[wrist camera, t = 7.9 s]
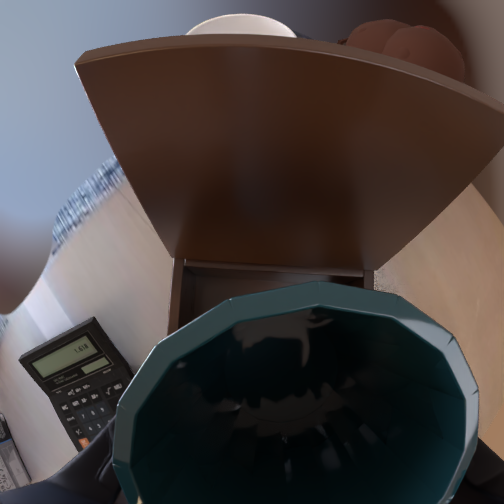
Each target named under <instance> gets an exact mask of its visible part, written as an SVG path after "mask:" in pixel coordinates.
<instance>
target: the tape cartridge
mask: <svg viewBox="0 0 504 504" xmlns="http://www.w3.org/2000/svg"><path fill="white" fill-rule="evenodd" d="M29 482H31V479H30V477H29V475H28V473H27V471H26V469H25V467H24V465H23V463H22V461H21V459H20V457H19V455H18V452H17V450H16V448H15V445H14V443H13V441H12V438H11V436H10V433H9V431H8V428H7V425H6V422H5V420H4V417H3V414H0V492H3V491H7V490H11V489H15V488H19V487H23V486H25V485H27V484H28V483H29Z"/></svg>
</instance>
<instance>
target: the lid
mask: <svg viewBox="0 0 504 504" xmlns="http://www.w3.org/2000/svg"><path fill="white" fill-rule="evenodd" d="M74 67H75V70H76V72H77V74H78V77H79V79H80V81H81V84H82V86H83V88H84V91H85V93H86V95H87V98H88V100H89V102H90V104H91V107H92V109H93V111H94V113H95V115H96V117H97V120H98V122H99V124H100V126H101V128H102V130H103V132H104V134H105V136H106V138H107V140H108V142H109V144H110V146H111V148H112V150H113V152H114V154H115V156H116V158H117V160H118V162H119V164H120V166H121V168H122V170H123V172H124V174H125V176H126V178H127V180H128V182H129V183H130V185H131V187H132V189H133V191H134V193H135V195H136V196H137V198H138V200H139V202H140V204H141V206H142V207H143V209H144V211H145V213H146V214H147V216H148V218H149V220H150V222H151V223H152V225H153V227H154V229H155V230H156V232H157V234H158V235H159V237H160V239H161V241H162V242H163V244H164V246H165V247H166V249H167V251H168V252H169V254H170V256H171V257H172V258H184V259H198V260H212V261H227V262H242V263H258V264H274V265H290V266H307V267H324V268H342V269H360V270H378V269H379V268H380V267H381V266H383V265H384V264H385V263H386V262H387V261H389V260H390V259H391V258H392V257H393V256H394V255H395V254H397V253H398V252H399V251H400V250H401V249H402V248H403V247H405V246H406V245H407V244H408V243H409V242H410V241H411V240H412V239H414V238H415V237H416V236H417V235H418V234H419V233H420V232H421V231H422V230H423V229H424V228H425V227H427V226H428V225H429V224H430V223H431V222H432V221H433V220H434V219H435V218H436V217H437V216H438V215H439V214H440V213H441V212H442V211H443V210H444V209H445V208H446V207H447V206H448V205H449V204H450V203H451V202H452V201H453V200H454V199H455V198H456V197H457V196H458V195H459V194H460V193H461V192H462V191H463V190H464V189H465V188H466V187H467V186H468V185H469V184H470V183H471V182H472V181H473V180H474V179H475V178H476V177H477V176H478V174H479V173H480V172H481V171H482V170H483V169H484V168H485V167H486V166H487V165H488V163H489V162H490V161H491V160H492V159H493V158H494V157H495V156H496V154H497V153H498V152H499V151H500V150H501V149H502V147H503V146H504V104H503V103H501V102H499V101H497V100H495V99H493V98H492V97H490V96H488V95H486V94H484V93H482V92H480V91H478V90H476V89H474V88H472V87H470V86H468V85H465V84H463V83H461V82H459V81H456V80H454V79H452V78H449V77H447V76H445V75H442V74H440V73H437V72H435V71H432V70H429V69H427V68H424V67H421V66H418V65H415V64H412V63H409V62H406V61H403V60H400V59H397V58H393V57H390V56H386V55H383V54H379V53H375V52H372V51H368V50H363V49H359V48H355V47H350V46H345V45H340V44H335V43H330V42H324V41H317V40H311V39H303V38H295V37H286V36H275V35H260V34H195V35H181V36H169V37H160V38H152V39H145V40H138V41H132V42H126V43H121V44H116V45H111V46H106V47H102V48H97V49H93V50H89V51H86V52H84V53H83V54H82V55H81V56H80V58H79V59H78V60H77V61H76V62H75V63H74Z"/></svg>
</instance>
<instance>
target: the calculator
mask: <svg viewBox="0 0 504 504" xmlns="http://www.w3.org/2000/svg"><path fill="white" fill-rule="evenodd" d="M19 362H20V363H21V364H22V366H23V367H24V368H25V370H26V371H27V372H28V373H29V375H30V376H31V377H32V378H33V379H34V381H35V382H36V383H37V384H38V385H39V387H40V388H41V389H42V390H43V391H44V392H45V393H46V395H47V396H48V397H49V399H50V401H51V403H52V405H53V407H54V409H55V411H56V413H57V415H58V417H59V419H60V421H61V423H62V425H63V426H64V428H65V430H66V432H67V434H68V435H69V437H70V439H71V441H72V442H73V444H74V446H75V447H76V449H77V451H78V452H79V453H80V452H81V451H82V450H83V449H84V448H85V447H86V446H87V445H88V444H90V442H91V441H92V440H93V439H94V438H95V437H96V436H97V435H98V434H99V433H100V432H101V430H102V429H103V428H104V427H105V426H107V424H108V422H109V421H110V420H111V419H112V418H113V417H114V416H115V414H116V410H117V405H118V401H119V400H120V398H121V396H122V395H123V393H124V392H125V390H126V389H127V387H128V386H129V384H130V383H131V381H132V379H133V378H134V375H133V373H132V371H131V369H130V367H129V365H128V363H127V362H126V361H125V359H124V358H123V357H122V355H121V354H120V353H119V351H118V350H117V349H116V347H115V346H114V344H113V343H112V342H111V340H110V339H109V337H108V336H107V335H106V333H105V332H104V330H103V329H102V327H101V326H100V324H99V323H98V321H97V320H96V318H95V317H92V318H90V319H88V320H86V321H84V322H82V323H81V324H79V325H77V326H75V327H73V328H71V329H69V330H67V331H65V332H64V333H62V334H60V335H58V336H56V337H54V338H52V339H51V340H49V341H47V342H45V343H43V344H41V345H39V346H38V347H36V348H34V349H32V350H30V351H28V352H27V353H25V354H23V355H21V357H20V358H19Z"/></svg>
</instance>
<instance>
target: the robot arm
mask: <svg viewBox="0 0 504 504" xmlns="http://www.w3.org/2000/svg"><path fill="white" fill-rule="evenodd" d="M115 419H116V414H115V416H114V417H113V418H112V419H111V420H110V421H109V422H108V424H107V426H105V427H104V428H103V429H102V430H101V432H100V433H99V434H98V435H97V436H96V437H95V438H94V439H93V440H92V441H91V442H90V444H88V445H87V446H86V447H85V448H84V449H83V450H82V451H81V452H80V453H79V454H78V455H77V456H75V457H74V458H73V459H72V460H71V461H70V462H68V463H67V464H66V465H65V466H64V467H63V468H61V469H60V470H59V471H58V472H57V473H56V474H54V475H53V476H51V477H50V478H48V479H46V480H43V481H41V482H37V483H34V484H30V485H27V486H23V487H19V488H15V489H11V490H7V491H3V492H0V504H128V502H127V500H126V497H125V495H124V493H123V490H122V488H121V486H120V483H119V481H118V478H117V476H116V473H115V470H114V468H113V463H112V456H113V441H114V429H115ZM449 504H504V461H503V460H502V459H501V458H500V457H499V456H498V455H497V454H496V453H495V452H493V451H492V450H491V449H490V448H489V447H488V446H487V445H486V444H485V443H484V442H483V441H482V440H481V439H480V438H479V437H478V440H477V446H476V450H475V452H474V455H473V457H472V460H471V462H470V464H469V467H468V469H467V471H466V473H465V475H464V478H463V480H462V482H461V484H460V486H459V488H458V490H457V492H456V494H455V496H454V497H453V499H452V500H451V502H450V503H449Z"/></svg>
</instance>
